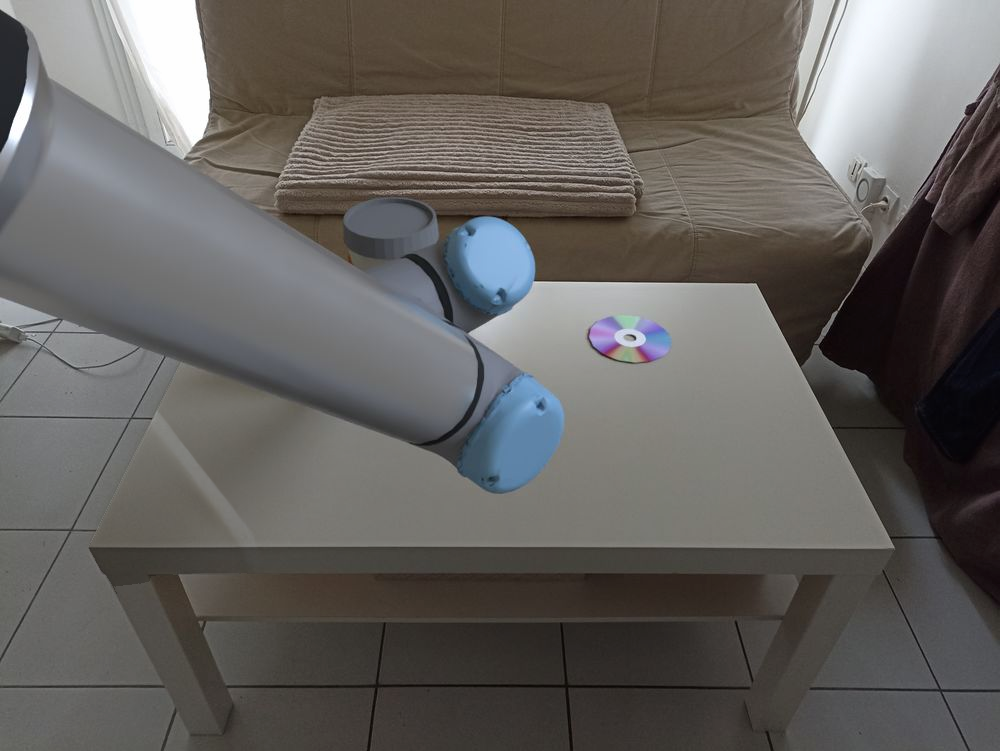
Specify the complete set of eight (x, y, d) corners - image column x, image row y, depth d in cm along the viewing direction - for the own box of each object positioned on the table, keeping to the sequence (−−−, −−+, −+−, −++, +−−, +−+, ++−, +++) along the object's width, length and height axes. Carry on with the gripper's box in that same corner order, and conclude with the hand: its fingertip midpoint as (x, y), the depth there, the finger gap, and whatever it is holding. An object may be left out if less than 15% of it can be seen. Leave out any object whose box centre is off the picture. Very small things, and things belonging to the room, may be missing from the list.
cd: (571, 335, 103) (572, 334, 103) (626, 306, 109) (626, 306, 109) (634, 373, 97) (634, 373, 97) (688, 341, 102) (688, 340, 102)
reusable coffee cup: (404, 281, 114) (398, 188, 105) (460, 314, 107) (458, 218, 98) (335, 312, 107) (321, 215, 98) (389, 350, 100) (380, 250, 91)
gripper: (383, 379, 67) (312, 424, 87) (493, 323, 74) (404, 377, 94) (343, 305, 67) (281, 367, 87) (457, 256, 74) (375, 324, 94)
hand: (345, 372), depth 90 cm, fingers closed
